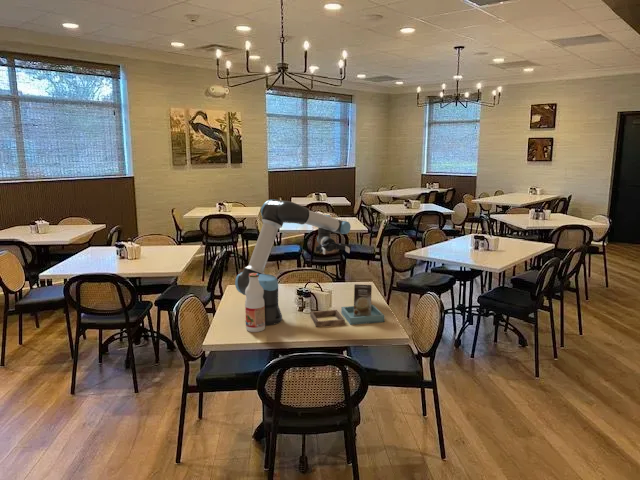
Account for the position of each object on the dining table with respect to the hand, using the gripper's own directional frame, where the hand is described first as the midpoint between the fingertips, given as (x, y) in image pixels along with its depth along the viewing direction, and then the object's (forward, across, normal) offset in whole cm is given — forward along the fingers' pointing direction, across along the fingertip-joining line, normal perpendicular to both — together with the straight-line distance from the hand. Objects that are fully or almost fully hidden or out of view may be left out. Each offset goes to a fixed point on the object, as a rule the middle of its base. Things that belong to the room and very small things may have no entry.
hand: (337, 251), depth 271 cm
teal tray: (+19, -9, -32) cm, 38 cm away
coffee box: (+19, -9, -31) cm, 37 cm away
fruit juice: (+23, +47, -32) cm, 61 cm away
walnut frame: (+19, +10, -32) cm, 38 cm away
